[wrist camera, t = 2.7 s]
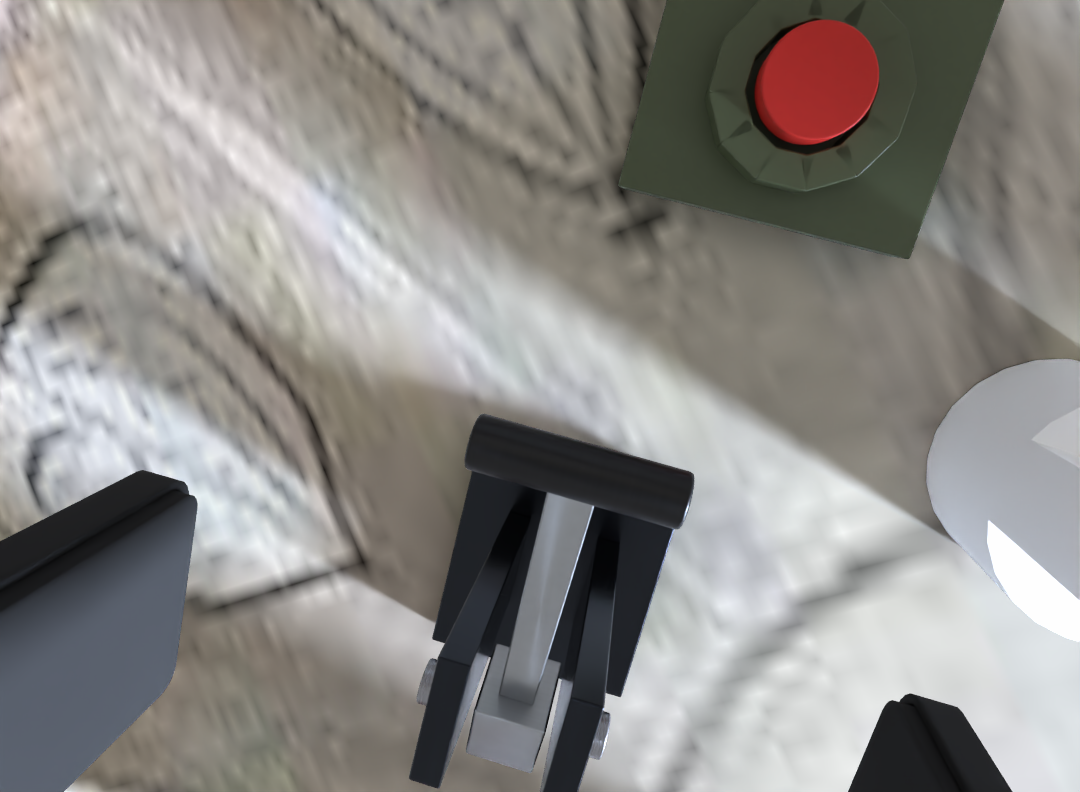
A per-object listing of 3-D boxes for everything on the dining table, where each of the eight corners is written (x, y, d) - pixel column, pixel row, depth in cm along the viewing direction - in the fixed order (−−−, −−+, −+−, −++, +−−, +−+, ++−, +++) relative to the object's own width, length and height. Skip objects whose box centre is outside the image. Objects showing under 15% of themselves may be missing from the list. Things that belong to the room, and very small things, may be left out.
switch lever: (490, 387, 18) (458, 455, 16) (699, 445, 18) (690, 522, 16) (447, 674, 26) (423, 740, 25) (587, 717, 26) (573, 788, 24)
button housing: (979, 13, 28) (1032, -20, 24) (891, 256, 30) (927, 262, 26) (684, -54, 29) (689, -97, 25) (620, 187, 31) (615, 183, 27)
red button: (880, 45, 25) (896, 33, 24) (843, 156, 26) (856, 152, 25) (773, 21, 26) (782, 6, 24) (740, 131, 27) (746, 125, 25)
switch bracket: (485, 431, 34) (391, 551, 22) (683, 487, 33) (702, 644, 21) (438, 626, 37) (330, 833, 24) (621, 682, 36) (605, 924, 24)
